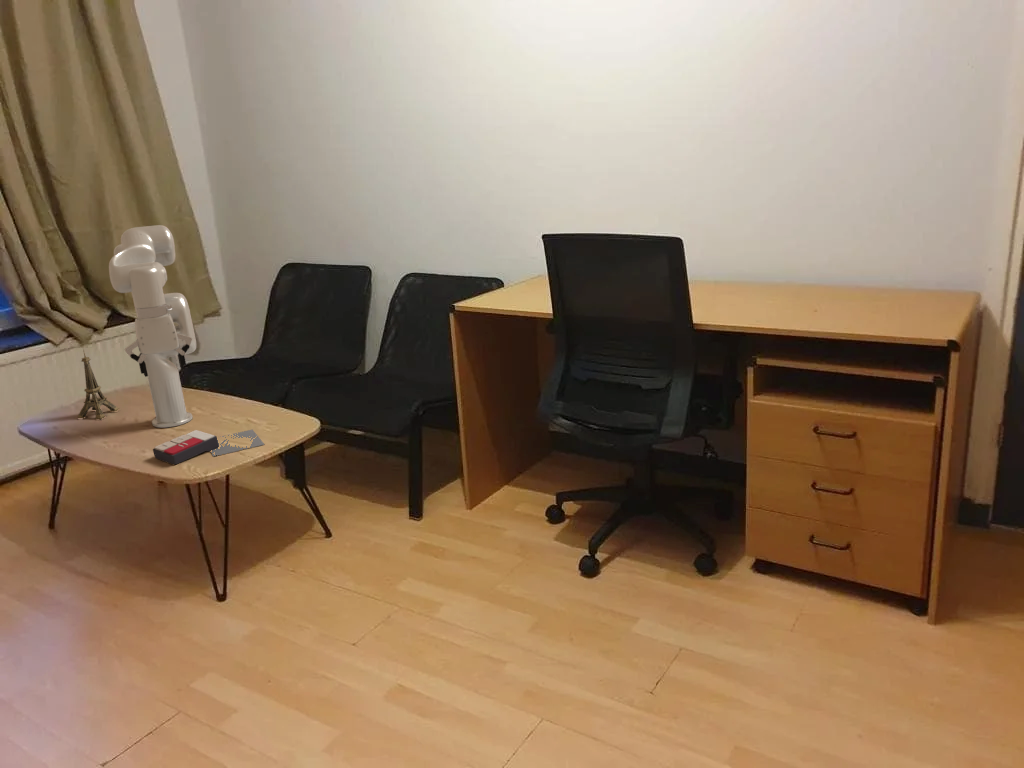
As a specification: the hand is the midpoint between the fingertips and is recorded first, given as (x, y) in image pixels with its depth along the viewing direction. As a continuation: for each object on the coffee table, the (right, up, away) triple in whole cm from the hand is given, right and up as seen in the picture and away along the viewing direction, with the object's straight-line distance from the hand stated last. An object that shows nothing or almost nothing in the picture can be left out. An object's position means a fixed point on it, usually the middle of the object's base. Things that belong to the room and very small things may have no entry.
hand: (164, 372), depth 224 cm
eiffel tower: (-48, -14, +57) cm, 76 cm away
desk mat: (+12, -21, +22) cm, 33 cm away
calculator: (0, -24, +17) cm, 29 cm away
